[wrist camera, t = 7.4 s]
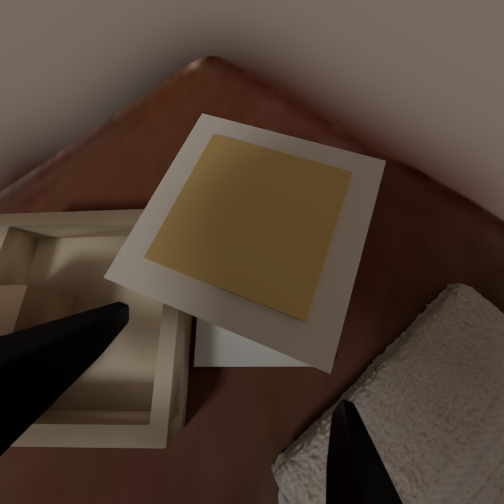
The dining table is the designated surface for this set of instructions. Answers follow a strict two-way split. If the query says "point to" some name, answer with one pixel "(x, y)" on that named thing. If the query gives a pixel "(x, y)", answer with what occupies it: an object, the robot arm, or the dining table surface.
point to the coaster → (234, 350)
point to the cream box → (256, 236)
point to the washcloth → (423, 410)
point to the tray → (119, 351)
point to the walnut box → (32, 307)
